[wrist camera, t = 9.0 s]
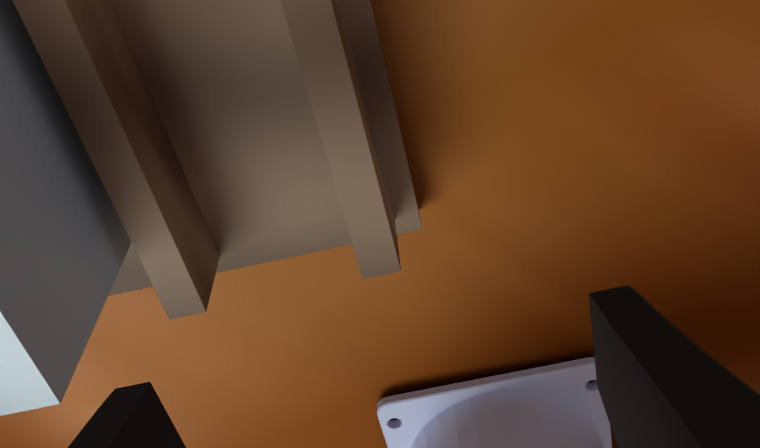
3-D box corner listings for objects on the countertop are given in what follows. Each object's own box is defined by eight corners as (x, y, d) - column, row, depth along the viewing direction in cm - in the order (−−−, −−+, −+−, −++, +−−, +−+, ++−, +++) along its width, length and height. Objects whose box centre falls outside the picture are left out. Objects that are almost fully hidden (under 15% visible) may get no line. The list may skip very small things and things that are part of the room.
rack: (419, 210, 22) (431, 281, 19) (-135, 329, 23) (-205, 412, 20) (311, -260, 15) (304, -266, 12) (-442, -57, 17) (-609, -19, 14)
